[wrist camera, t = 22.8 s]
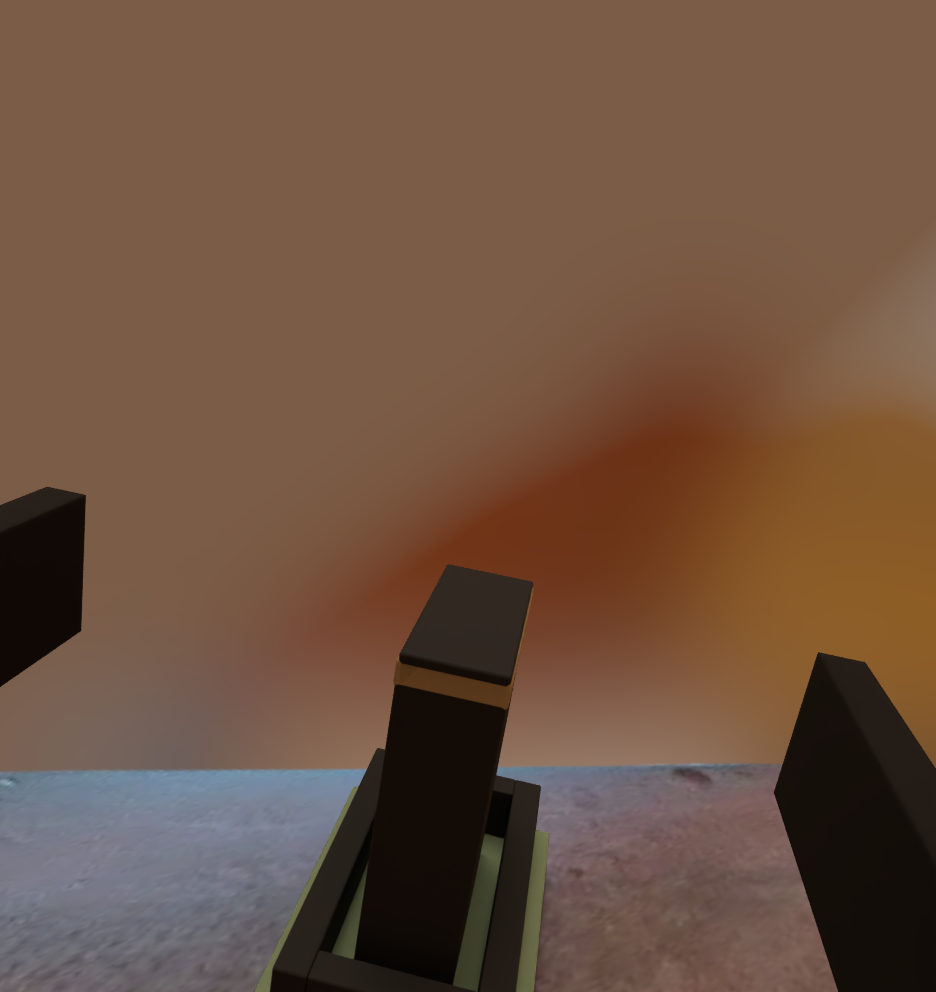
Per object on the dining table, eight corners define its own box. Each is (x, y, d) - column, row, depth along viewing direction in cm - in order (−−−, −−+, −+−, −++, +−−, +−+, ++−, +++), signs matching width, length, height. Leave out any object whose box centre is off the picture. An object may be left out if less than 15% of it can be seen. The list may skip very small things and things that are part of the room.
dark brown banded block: (449, 1010, 24) (514, 678, 21) (347, 983, 25) (396, 652, 22) (482, 852, 31) (535, 581, 28) (401, 832, 32) (445, 562, 28)
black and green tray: (514, 1137, 23) (537, 1039, 22) (236, 1059, 24) (247, 961, 23) (542, 864, 33) (559, 789, 32) (349, 816, 34) (359, 742, 33)
